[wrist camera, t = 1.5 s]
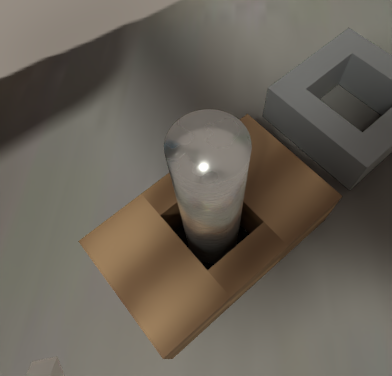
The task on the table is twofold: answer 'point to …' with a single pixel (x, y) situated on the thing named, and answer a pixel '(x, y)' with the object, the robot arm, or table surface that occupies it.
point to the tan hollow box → (187, 262)
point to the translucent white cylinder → (209, 178)
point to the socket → (329, 119)
